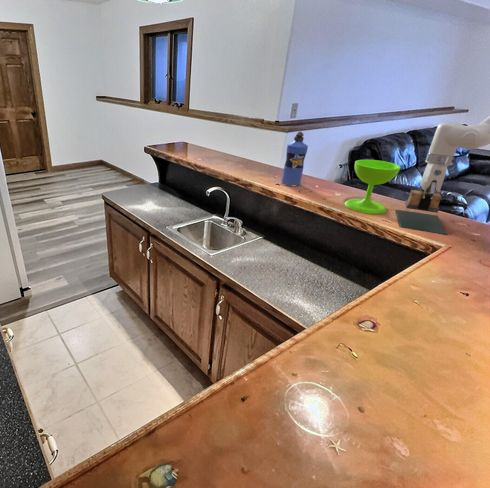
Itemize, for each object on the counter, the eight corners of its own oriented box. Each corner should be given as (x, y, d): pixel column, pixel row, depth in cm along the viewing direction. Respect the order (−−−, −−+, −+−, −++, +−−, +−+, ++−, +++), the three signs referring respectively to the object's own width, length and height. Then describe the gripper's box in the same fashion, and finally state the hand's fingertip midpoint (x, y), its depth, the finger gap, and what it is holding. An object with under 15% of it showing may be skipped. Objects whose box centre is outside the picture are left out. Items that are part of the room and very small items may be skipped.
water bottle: (278, 180, 180) (287, 130, 168) (297, 181, 179) (306, 130, 168) (283, 186, 171) (292, 133, 160) (302, 186, 171) (313, 134, 160)
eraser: (434, 208, 134) (440, 193, 131) (437, 212, 129) (443, 197, 127) (404, 203, 138) (409, 189, 135) (406, 208, 133) (411, 193, 130)
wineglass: (375, 217, 136) (389, 171, 128) (336, 205, 148) (347, 162, 140) (393, 208, 145) (408, 165, 137) (356, 198, 156) (367, 158, 148)
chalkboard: (436, 217, 137) (437, 215, 136) (447, 237, 120) (448, 234, 120) (395, 211, 142) (395, 209, 142) (400, 229, 126) (401, 226, 125)
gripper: (457, 165, 117) (437, 215, 125) (446, 155, 130) (429, 201, 139) (430, 162, 119) (412, 212, 128) (422, 153, 133) (407, 198, 141)
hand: (421, 205), depth 133 cm, fingers closed on eraser, 5 cm apart
